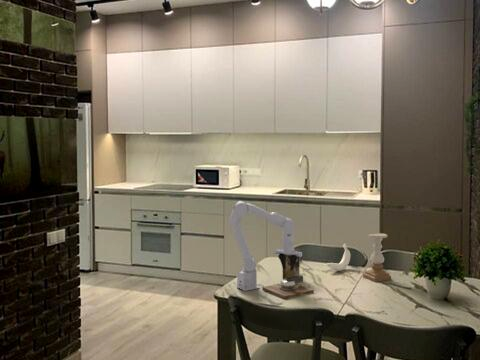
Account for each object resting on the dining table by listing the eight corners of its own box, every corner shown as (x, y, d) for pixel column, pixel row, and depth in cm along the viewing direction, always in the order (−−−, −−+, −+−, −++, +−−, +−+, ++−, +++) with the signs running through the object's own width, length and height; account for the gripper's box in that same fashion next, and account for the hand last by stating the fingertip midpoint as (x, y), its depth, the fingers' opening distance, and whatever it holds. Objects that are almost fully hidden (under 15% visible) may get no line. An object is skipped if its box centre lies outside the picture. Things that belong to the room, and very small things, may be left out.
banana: (326, 272, 292) (326, 247, 291) (345, 266, 306) (345, 242, 304) (333, 274, 289) (333, 248, 287) (352, 268, 302) (352, 243, 301)
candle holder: (391, 279, 277) (392, 235, 275) (374, 282, 273) (375, 237, 271) (379, 274, 287) (379, 232, 285) (362, 276, 283) (362, 233, 281)
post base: (285, 299, 245) (285, 294, 245) (262, 290, 260) (262, 285, 260) (313, 292, 255) (313, 288, 255) (290, 284, 270) (290, 279, 270)
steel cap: (286, 289, 253) (286, 281, 252) (277, 285, 258) (277, 277, 258) (306, 284, 260) (306, 277, 259) (297, 281, 265) (297, 273, 265)
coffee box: (299, 277, 282) (299, 248, 281) (299, 281, 276) (299, 251, 274) (282, 277, 283) (282, 248, 282) (282, 280, 276) (282, 250, 275)
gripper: (304, 242, 262) (304, 269, 263) (278, 239, 270) (278, 265, 271) (298, 245, 256) (298, 272, 257) (272, 242, 264) (272, 268, 265)
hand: (288, 269), depth 264 cm, fingers open, 4 cm apart
